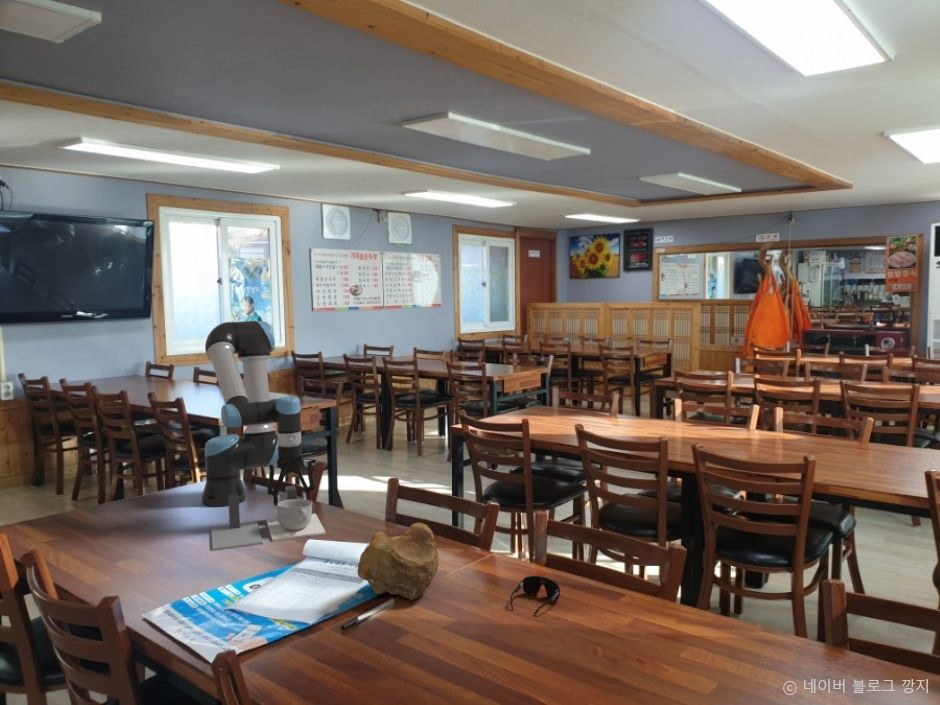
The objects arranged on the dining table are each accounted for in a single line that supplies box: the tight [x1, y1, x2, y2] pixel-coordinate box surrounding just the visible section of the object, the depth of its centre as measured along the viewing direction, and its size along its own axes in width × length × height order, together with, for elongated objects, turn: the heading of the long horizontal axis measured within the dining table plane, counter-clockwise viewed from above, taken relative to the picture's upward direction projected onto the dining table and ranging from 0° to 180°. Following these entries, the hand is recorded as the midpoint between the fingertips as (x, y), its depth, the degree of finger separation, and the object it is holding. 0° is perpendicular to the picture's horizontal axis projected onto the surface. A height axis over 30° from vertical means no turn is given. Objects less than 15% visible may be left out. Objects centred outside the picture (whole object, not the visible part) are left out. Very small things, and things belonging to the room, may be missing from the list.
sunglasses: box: [509, 575, 561, 615], centre depth 167 cm, size 10×12×5 cm
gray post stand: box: [210, 493, 263, 551], centre depth 216 cm, size 21×14×11 cm, turn 21°
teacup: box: [276, 498, 313, 530], centre depth 220 cm, size 14×11×8 cm
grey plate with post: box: [266, 485, 327, 542], centre depth 224 cm, size 21×16×11 cm
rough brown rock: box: [357, 522, 440, 601], centre depth 175 cm, size 23×17×15 cm
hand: (292, 513), depth 230 cm, fingers open, 8 cm apart
